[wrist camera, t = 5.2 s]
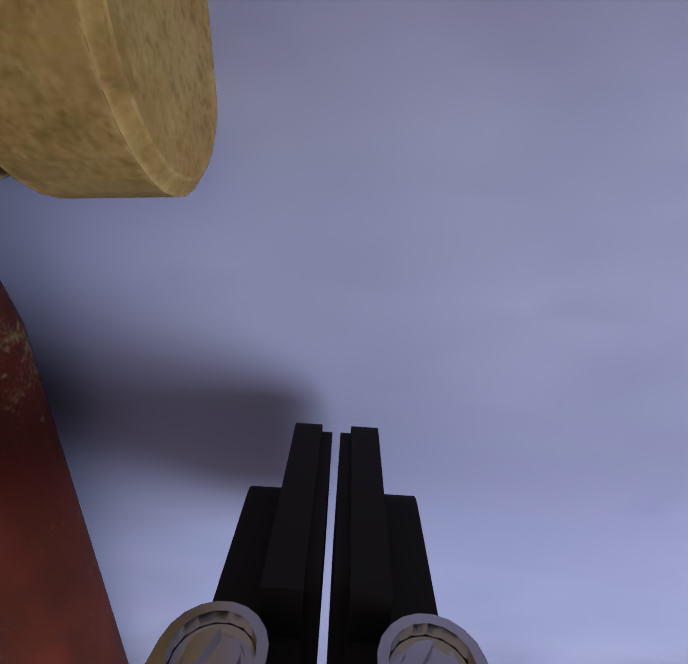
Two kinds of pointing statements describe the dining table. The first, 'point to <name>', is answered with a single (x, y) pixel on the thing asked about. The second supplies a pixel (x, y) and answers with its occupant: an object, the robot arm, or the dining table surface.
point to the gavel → (81, 182)
